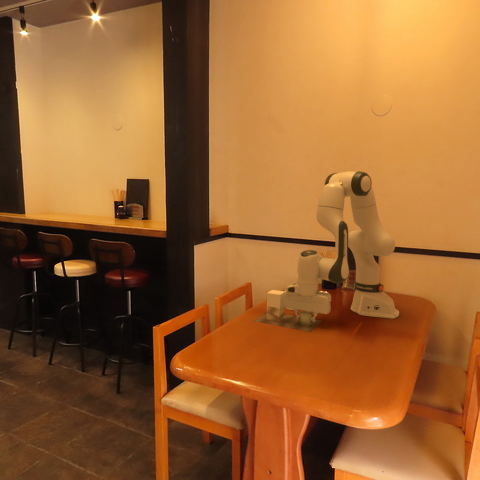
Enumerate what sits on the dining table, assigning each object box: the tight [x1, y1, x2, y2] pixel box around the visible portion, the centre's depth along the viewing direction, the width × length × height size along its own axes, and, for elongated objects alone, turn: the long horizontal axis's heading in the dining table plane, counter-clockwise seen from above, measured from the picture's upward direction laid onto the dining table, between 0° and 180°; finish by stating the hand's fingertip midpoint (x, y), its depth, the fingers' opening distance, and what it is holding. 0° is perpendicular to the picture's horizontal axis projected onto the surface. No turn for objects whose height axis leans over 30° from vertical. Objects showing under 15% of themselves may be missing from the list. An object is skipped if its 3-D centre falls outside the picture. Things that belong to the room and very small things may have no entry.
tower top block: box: [266, 289, 285, 308], centre depth 183 cm, size 6×6×6 cm
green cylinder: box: [299, 310, 313, 326], centre depth 178 cm, size 5×5×5 cm
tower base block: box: [266, 305, 286, 322], centre depth 184 cm, size 6×6×6 cm
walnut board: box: [253, 311, 323, 333], centre depth 182 cm, size 26×16×2 cm, turn 63°
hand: (305, 320), depth 178 cm, fingers closed on green cylinder, 5 cm apart
